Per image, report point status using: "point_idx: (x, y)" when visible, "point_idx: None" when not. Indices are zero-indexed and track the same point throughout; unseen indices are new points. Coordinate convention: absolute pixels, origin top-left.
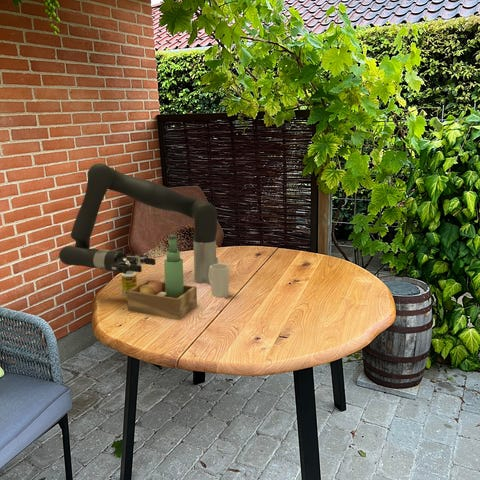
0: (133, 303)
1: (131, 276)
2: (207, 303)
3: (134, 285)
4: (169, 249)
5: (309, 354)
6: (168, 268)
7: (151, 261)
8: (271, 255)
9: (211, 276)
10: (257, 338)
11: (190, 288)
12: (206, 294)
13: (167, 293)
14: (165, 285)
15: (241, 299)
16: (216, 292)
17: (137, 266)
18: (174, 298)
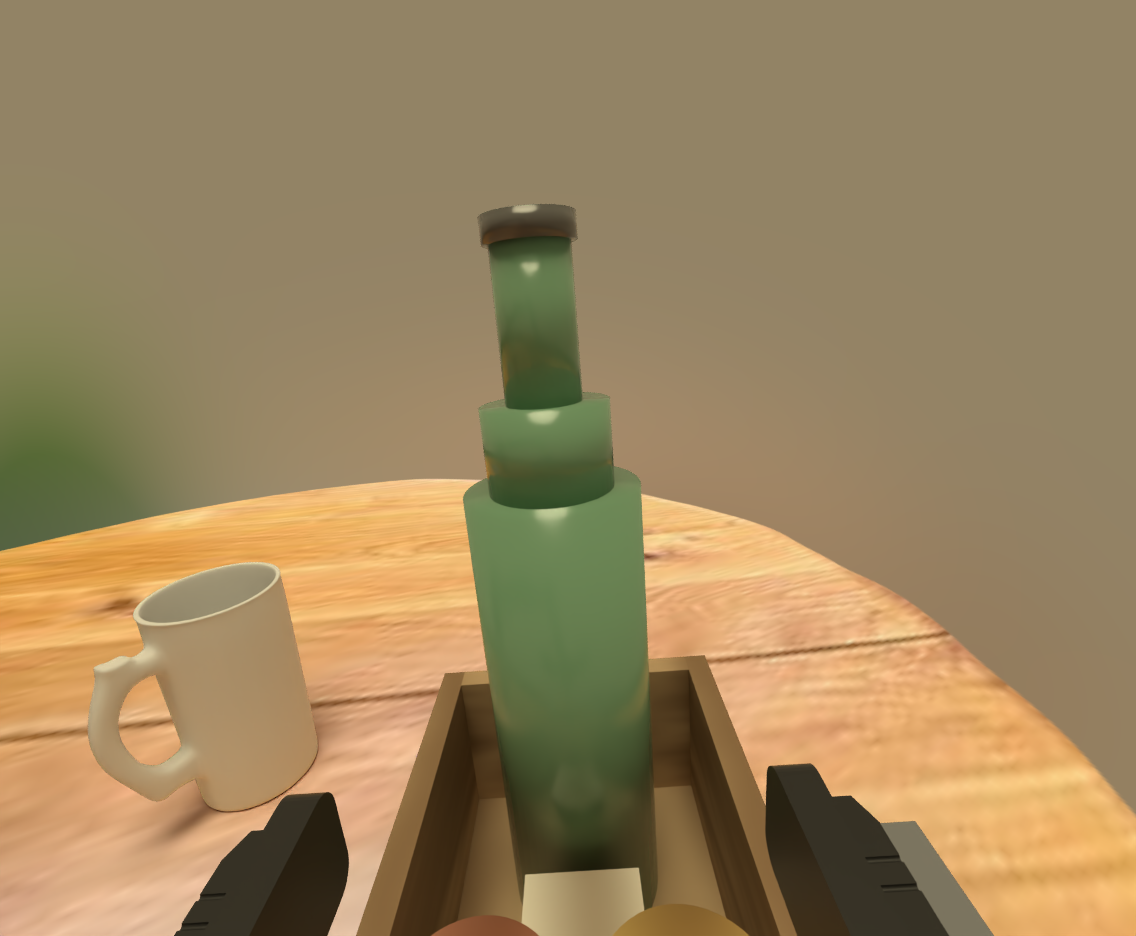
0: None
1: None
2: (386, 778)
3: None
4: (575, 370)
5: (657, 499)
6: (642, 534)
7: (309, 885)
8: None
9: (243, 671)
10: (649, 556)
11: (459, 708)
12: (204, 859)
13: (650, 760)
14: (632, 730)
15: (324, 674)
16: (305, 726)
17: (835, 820)
18: (701, 678)
